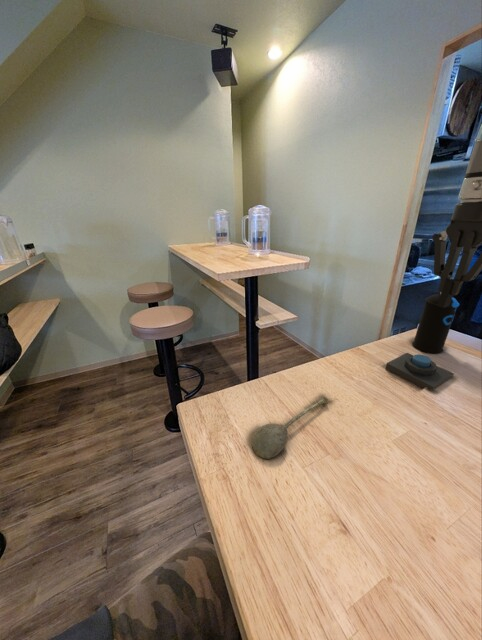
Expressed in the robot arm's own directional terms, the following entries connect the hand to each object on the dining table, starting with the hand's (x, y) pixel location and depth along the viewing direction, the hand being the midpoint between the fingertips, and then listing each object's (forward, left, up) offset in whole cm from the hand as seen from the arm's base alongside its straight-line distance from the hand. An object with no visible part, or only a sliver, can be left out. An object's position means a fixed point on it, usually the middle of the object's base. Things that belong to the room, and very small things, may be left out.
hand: (443, 305), depth 62 cm
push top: (0, +3, -16) cm, 16 cm away
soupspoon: (+4, +43, -20) cm, 48 cm away
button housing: (0, +3, -20) cm, 20 cm away
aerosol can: (+6, -14, -20) cm, 25 cm away
